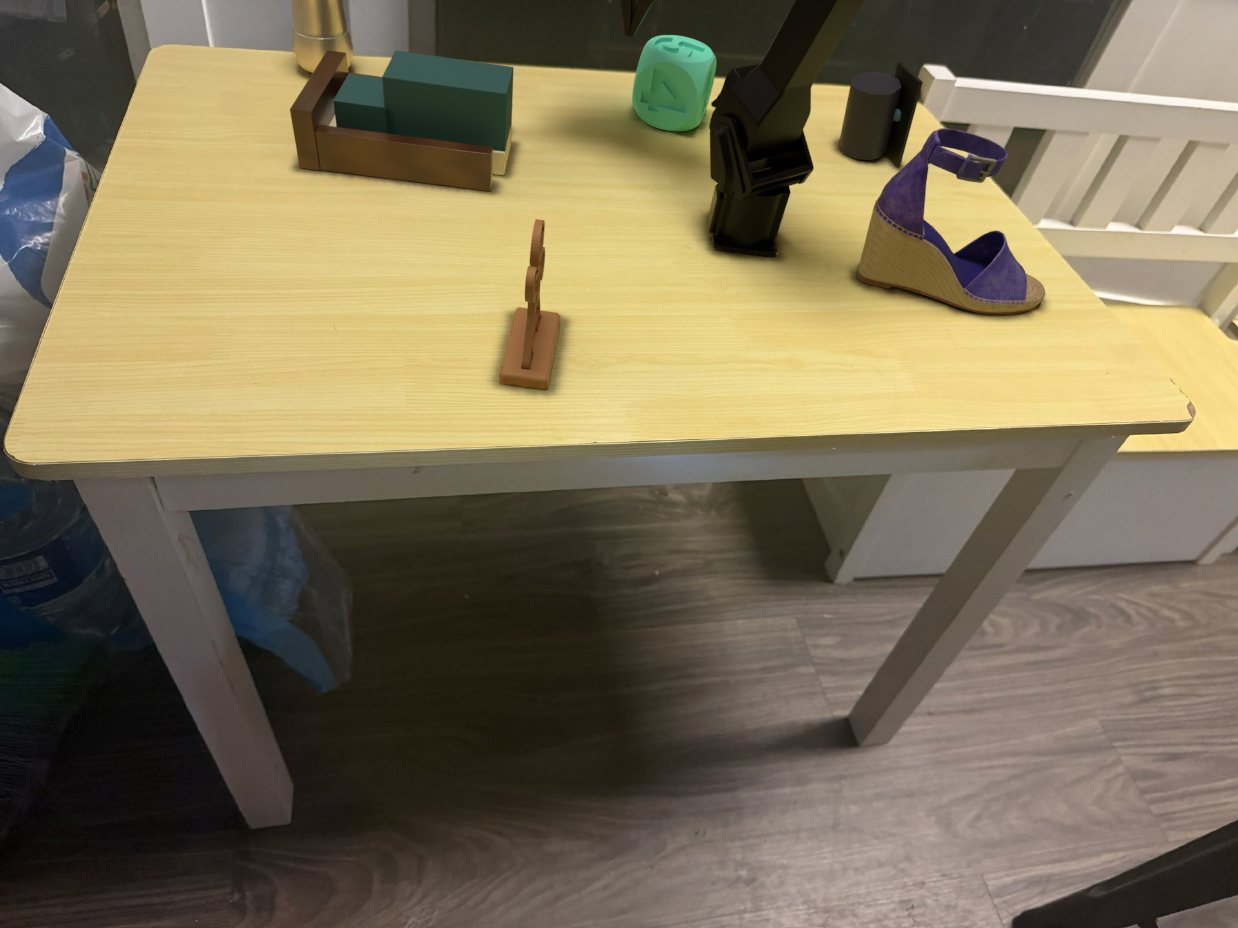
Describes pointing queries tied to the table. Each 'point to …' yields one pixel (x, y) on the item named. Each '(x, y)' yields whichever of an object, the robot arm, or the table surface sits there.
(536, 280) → the gingerbread man figurine
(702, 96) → the decorative dice
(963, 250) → the sandal
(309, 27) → the gold rounded cylinder
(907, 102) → the speaker
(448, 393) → the table surface
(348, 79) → the teal stepped block
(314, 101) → the wooden bed frame
